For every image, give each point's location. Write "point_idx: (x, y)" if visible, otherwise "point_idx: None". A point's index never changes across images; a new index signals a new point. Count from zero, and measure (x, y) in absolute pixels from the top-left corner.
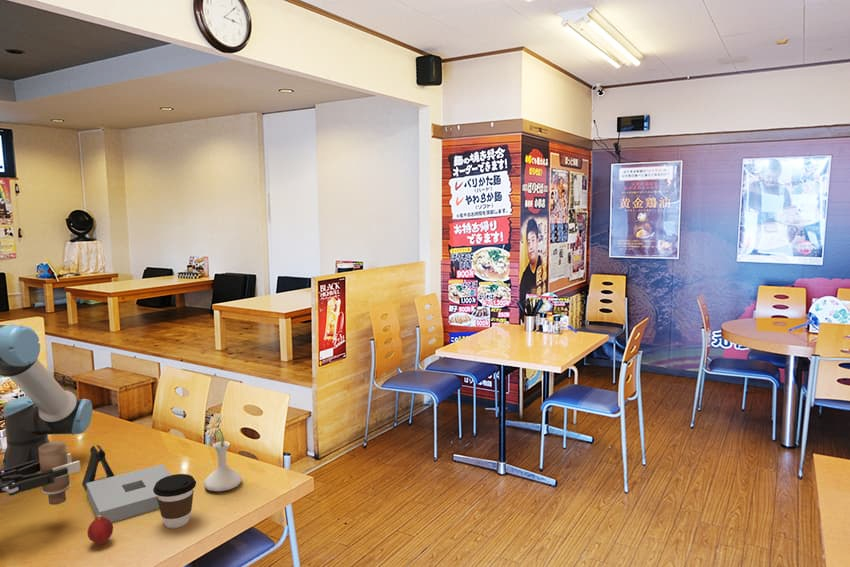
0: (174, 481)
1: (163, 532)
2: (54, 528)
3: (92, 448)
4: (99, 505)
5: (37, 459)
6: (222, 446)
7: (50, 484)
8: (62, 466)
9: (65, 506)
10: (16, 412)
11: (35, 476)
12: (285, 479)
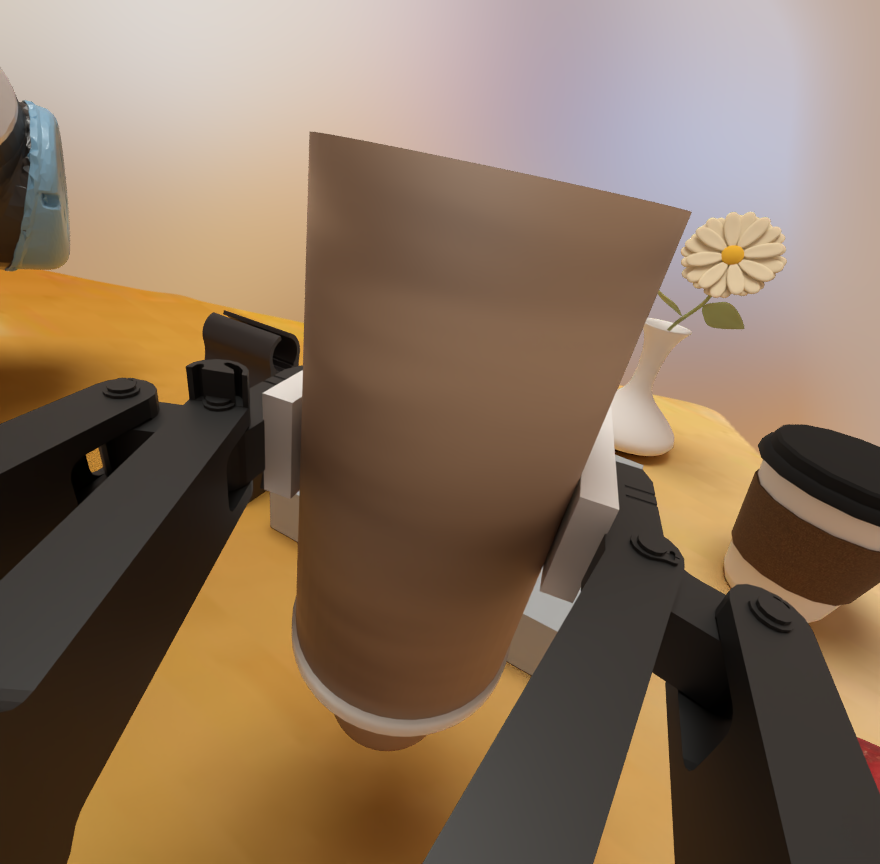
0: (862, 461)
1: (824, 655)
2: (372, 833)
3: (220, 324)
4: (529, 605)
5: (133, 380)
6: (736, 328)
7: (490, 652)
8: (612, 453)
9: (235, 613)
10: None
11: (625, 749)
12: (685, 411)
